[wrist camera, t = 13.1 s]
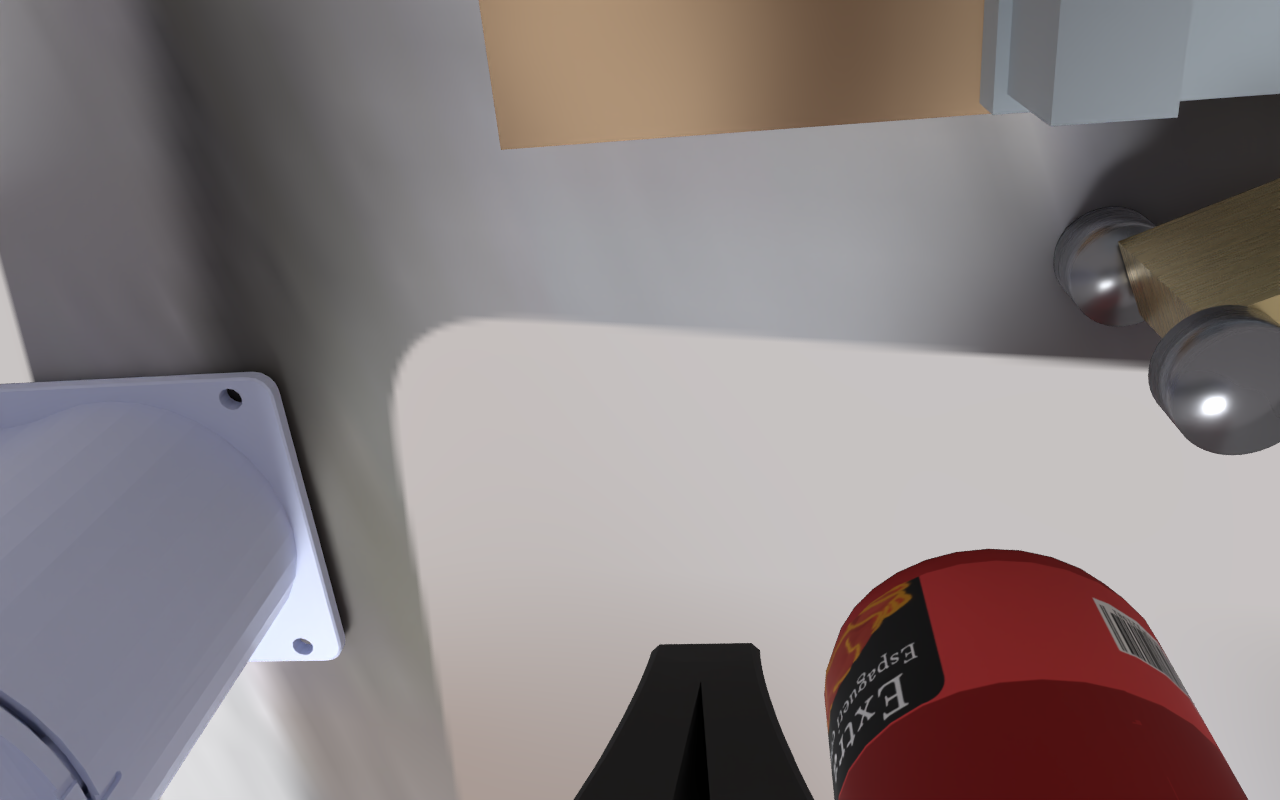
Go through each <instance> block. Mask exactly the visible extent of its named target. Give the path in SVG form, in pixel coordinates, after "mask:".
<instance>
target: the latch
mask: <svg viewBox="0 0 1280 800" xmlns="http://www.w3.org/2000/svg"><path fill="white" fill-rule="evenodd" d="M1118 244H1119V247H1120V250H1121V254H1122V257H1123V260H1124V264H1125V267H1126V270H1127V273H1128V277H1129V280H1130V283H1131V287H1132V290H1133V293H1134V296H1135V300H1136V303H1137V306H1138V310H1139V313H1140V316H1141V317H1142V318H1143V319H1144V320H1145V321H1146V322H1147V323H1148V324H1149V325H1150V326H1151V327H1152V328H1153V329H1154V330H1155V331H1156V332H1157V334H1158V335H1159V336H1160V337H1161V338H1162V340H1161V341H1160V343H1159V344H1158V346H1157V347H1156V349H1155V351H1154V353H1153V356H1152V358H1151V361H1150V365H1149V374H1148V377H1149V386H1150V390H1151V393H1152V395H1153V397H1154V399H1155V400H1156V402H1157V403H1158V405H1159V406H1160V407H1161V408H1162V410H1163V411H1164V412H1165V413H1166V414H1167V416H1168V417H1169V418H1170V419H1171V420H1172V422H1173V423H1174V424H1175V425H1176V427H1177V428H1178V429H1179V430H1180V431H1181V433H1182V434H1183V435H1184V436H1185V437H1186V438H1187V439H1188V440H1189V441H1190V442H1191V443H1193V444H1194V445H1196V446H1197V447H1199V448H1201V449H1204V450H1206V451H1209V452H1212V453H1217V454H1223V455H1242V454H1248V453H1253V452H1257V451H1261V450H1263V449H1266V448H1269V447H1271V446H1273V445H1275V444H1277V443H1279V442H1280V178H1279V179H1276V180H1274V181H1271V182H1269V183H1266V184H1264V185H1261V186H1259V187H1256V188H1253V189H1251V190H1248V191H1246V192H1243V193H1241V194H1238V195H1236V196H1233V197H1230V198H1228V199H1225V200H1223V201H1220V202H1218V203H1215V204H1213V205H1210V206H1207V207H1205V208H1202V209H1200V210H1197V211H1195V212H1192V213H1190V214H1187V215H1184V216H1182V217H1179V218H1177V219H1174V220H1172V221H1169V222H1167V223H1164V224H1161V225H1159V226H1156V227H1154V228H1151V229H1149V230H1146V231H1144V232H1141V233H1138V234H1136V235H1133V236H1131V237H1128V238H1126V239H1123V240H1120V241H1118Z"/></svg>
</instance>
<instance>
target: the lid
mask: <svg viewBox="0 0 1280 800" xmlns="http://www.w3.org/2000/svg"><path fill="white" fill-rule="evenodd" d="M1269 94H1280V0H985V2H984V21H983V41H982V61H981V81H980V101H979V103H980V104H981V105H982V106H983V107H984V108H985V109H987V110H988V111H989V112H990V113H991V114H992V115H997V114H1011V113H1024V112H1032V113H1033V114H1035V115H1036V116H1037V117H1039V118H1040V119H1041V120H1043V121H1044V122H1045V123H1047V124H1048V125H1049V126H1065V125H1079V124H1093V123H1107V122H1121V121H1135V120H1149V119H1163V118H1177V117H1178V112H1179V104H1180V101H1187V100H1201V99H1214V98H1228V97H1241V96H1255V95H1269Z"/></svg>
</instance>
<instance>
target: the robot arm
mask: <svg viewBox="0 0 1280 800" xmlns="http://www.w3.org/2000/svg"><path fill="white" fill-rule="evenodd" d="M227 389H233V390H235V391H236V392H237V393H239V395H240V396H241V398H242V402H237V401H235V400H233V399H232V398H230V396H229V394H228V393H227ZM300 638H302V639H306V640H308V641H309V642H311V644H312V645H310V644H305V643H304V642H302V641H301V639H300ZM344 645H345V634H344V631H343V627H342V623H341V620H340V616H339V612H338V608H337V605H336V601H335V597H334V593H333V590H332V586H331V582H330V579H329V575H328V571H327V567H326V564H325V560H324V556H323V552H322V549H321V545H320V541H319V538H318V534H317V530H316V526H315V523H314V519H313V515H312V511H311V508H310V504H309V500H308V497H307V493H306V489H305V485H304V482H303V478H302V474H301V471H300V467H299V463H298V459H297V456H296V452H295V448H294V444H293V441H292V437H291V433H290V430H289V426H288V422H287V418H286V415H285V411H284V407H283V403H282V400H281V396H280V392H279V390H278V387H277V385H276V383H275V382H274V381H273V380H272V379H271V378H270V377H268V376H266V375H264V374H263V373H259V372H235V373H215V374H194V375H174V376H154V377H133V378H113V379H92V380H72V381H52V382H31V383H11V384H0V800H159V799H160V797H161V796H162V794H163V793H164V791H165V790H166V788H167V786H168V785H169V783H170V782H171V780H172V779H173V777H174V776H175V774H176V772H177V771H178V769H179V768H180V766H181V765H182V763H183V762H184V760H185V758H186V757H187V755H188V754H189V752H190V751H191V749H192V748H193V746H194V744H195V743H196V741H197V740H198V738H199V737H200V735H201V734H202V732H203V731H204V729H205V727H206V726H207V724H208V723H209V721H210V720H211V718H212V717H213V715H214V713H215V712H216V710H217V709H218V707H219V706H220V704H221V703H222V701H223V699H224V698H225V696H226V695H227V693H228V692H229V690H230V689H231V687H232V686H233V684H234V682H235V681H236V679H237V678H238V676H239V675H240V673H241V672H242V670H243V668H244V667H245V665H246V664H247V662H255V661H327V660H332V659H335V658H336V657H338V656H339V654H340V652H341V650H342V649H343V647H344ZM574 800H814V799H813V797H812V795H811V793H810V791H809V789H808V787H807V785H806V783H805V781H804V779H803V777H802V775H801V773H800V771H799V769H798V766H797V764H796V762H795V760H794V757H793V755H792V753H791V750H790V748H789V746H788V744H787V741H786V739H785V737H784V735H783V732H782V730H781V727H780V725H779V722H778V720H777V717H776V714H775V711H774V708H773V705H772V702H771V700H770V697H769V693H768V690H767V687H766V683H765V679H764V675H763V671H762V666H761V659H760V650H759V649H758V648H756V647H755V646H754V645H753V644H752V643H733V644H665V645H659V646H657V647H656V648H655V649H654V650H653V651H652V652H651V655H650V659H649V661H648V664H647V667H646V669H645V671H644V674H643V676H642V679H641V681H640V683H639V685H638V688H637V690H636V692H635V694H634V696H633V698H632V700H631V702H630V704H629V706H628V708H627V710H626V712H625V714H624V716H623V718H622V720H621V722H620V724H619V725H618V727H617V729H616V731H615V733H614V734H613V736H612V738H611V740H610V741H609V743H608V745H607V747H606V749H605V751H604V752H603V754H602V756H601V758H600V759H599V761H598V763H597V764H596V766H595V768H594V769H593V771H592V772H591V774H590V775H589V777H588V778H587V780H586V781H585V783H584V784H583V786H582V788H581V789H580V791H579V792H578V794H577V795H576V797H575V799H574Z"/></svg>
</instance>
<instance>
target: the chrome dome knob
mask: <svg viewBox="0 0 1280 800" xmlns="http://www.w3.org/2000/svg"><path fill="white" fill-rule="evenodd" d="M1154 227H1156V226H1155V225H1154V224H1153V223H1152V222H1150V221H1149V220H1148V219H1147V218H1145V217H1144V216H1143V215H1141V214H1140V213H1138V212H1136V211H1134V210H1131V209H1128V208H1124V207H1105V208H1100V209H1097V210H1094V211H1091V212H1089V213H1087V214H1085V215H1083V216H1081V217H1080V218H1078V219H1077V220H1076V221H1075V222H1073V223H1072V224H1071V225H1070V226H1069V227H1068V228H1067V229H1066V231H1065V232H1064V233H1063V235H1062V236H1061V238H1060V240H1059V242H1058V244H1057V246H1056V249H1055V253H1054V264H1053V265H1054V272H1055V275H1056V278H1057V280H1058V282H1059V283H1060V285H1061V286H1062V288H1063V289H1064V290H1065V291H1066V293H1067V294H1068V295H1069V296H1070V297H1071V299H1072V300H1073V301H1074V302H1075V304H1076V305H1077V306H1078V307H1079V308H1080V310H1081V311H1082V312H1083V313H1084V314H1085V315H1086V316H1088V317H1089V318H1090V319H1092V320H1094V321H1095V322H1098V323H1100V324H1104V325H1108V326H1130V325H1134V324H1138V323H1141V322H1143V321H1145V320H1144V319H1143V318H1142V317H1141V316H1140V313H1139V310H1138V306H1137V303H1136V300H1135V296H1134V293H1133V290H1132V287H1131V283H1130V280H1129V277H1128V273H1127V270H1126V267H1125V264H1124V260H1123V257H1122V254H1121V250H1120V247H1119V244H1118V241H1120V240H1123V239H1126V238H1128V237H1131V236H1133V235H1136V234H1138V233H1141V232H1144V231H1146V230H1149V229H1151V228H1154Z"/></svg>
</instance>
